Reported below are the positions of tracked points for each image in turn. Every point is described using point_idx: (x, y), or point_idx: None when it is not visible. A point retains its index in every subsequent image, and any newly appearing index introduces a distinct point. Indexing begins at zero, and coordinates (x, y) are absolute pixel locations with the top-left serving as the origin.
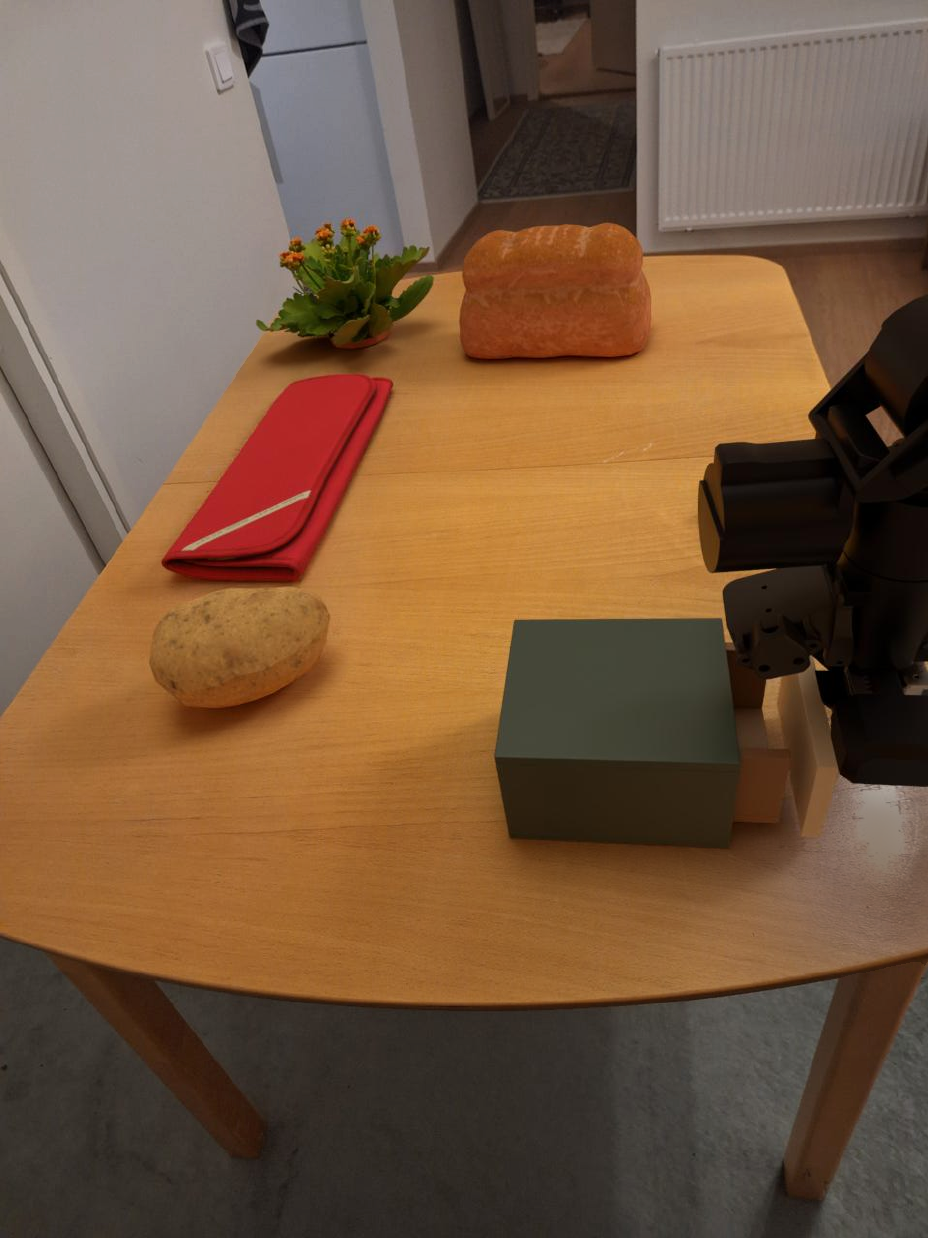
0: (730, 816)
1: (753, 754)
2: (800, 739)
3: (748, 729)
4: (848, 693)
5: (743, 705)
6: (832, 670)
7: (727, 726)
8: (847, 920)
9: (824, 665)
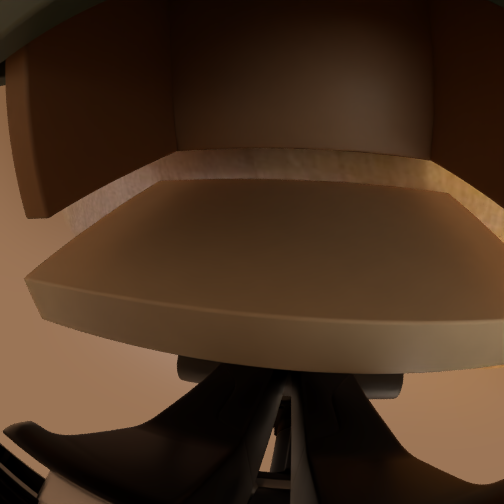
0: None
1: (12, 112)
2: (227, 233)
3: (375, 117)
4: (69, 495)
5: (436, 122)
6: (307, 471)
7: (2, 9)
8: (93, 217)
9: (314, 485)
